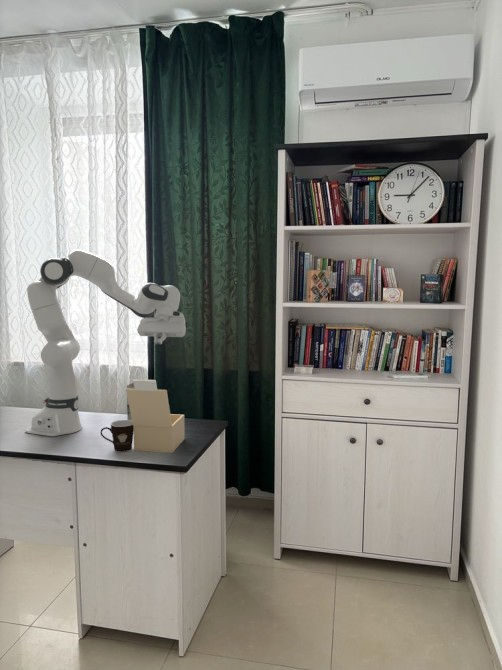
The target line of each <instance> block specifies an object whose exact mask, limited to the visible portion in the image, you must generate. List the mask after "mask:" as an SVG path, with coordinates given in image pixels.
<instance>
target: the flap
mask: <svg viewBox="0 0 502 670" xmlns="http://www.w3.org/2000/svg"><path fill="white" fill-rule="evenodd" d="M132 383H134V388H135V389H132V388H127V387H126V389H125V391H126V398H127V397H128V403H129V408H130V413H131V419H132V420H131V421H132V424H133V425H136V426H154V427H172V422H171V415H170V414H171V409H170V404H169V397H168V390H167V389H158V387H157V385H158V384H157V381H156V379H141V378H140V379H139V378H138V379H137V378H134V379H133V380H132Z"/></svg>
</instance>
